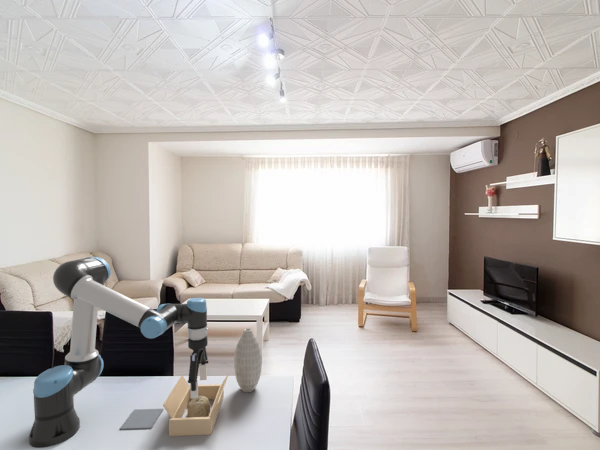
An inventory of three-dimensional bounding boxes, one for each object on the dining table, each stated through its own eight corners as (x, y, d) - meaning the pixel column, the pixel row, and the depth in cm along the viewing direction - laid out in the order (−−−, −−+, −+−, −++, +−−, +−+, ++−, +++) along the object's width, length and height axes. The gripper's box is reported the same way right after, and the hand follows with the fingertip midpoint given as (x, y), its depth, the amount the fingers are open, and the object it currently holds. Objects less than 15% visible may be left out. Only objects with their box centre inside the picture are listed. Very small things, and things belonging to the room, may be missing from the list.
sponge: (196, 432, 127) (209, 414, 125) (178, 416, 128) (190, 398, 127) (208, 417, 136) (220, 400, 134) (190, 403, 137) (202, 385, 136)
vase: (259, 396, 144) (259, 334, 143) (231, 396, 144) (230, 334, 144) (263, 381, 157) (263, 325, 156) (237, 381, 157) (236, 325, 156)
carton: (162, 436, 119) (161, 406, 118) (183, 398, 143) (182, 373, 143) (218, 434, 120) (217, 404, 119) (229, 397, 144) (229, 372, 144)
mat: (119, 429, 123) (119, 428, 123) (134, 410, 135) (134, 409, 135) (151, 428, 123) (151, 427, 123) (163, 409, 135) (163, 408, 135)
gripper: (198, 349, 118) (200, 405, 119) (213, 325, 143) (215, 372, 144) (178, 350, 118) (179, 406, 118) (196, 326, 143) (198, 373, 143)
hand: (199, 388), depth 131 cm, fingers open, 13 cm apart
